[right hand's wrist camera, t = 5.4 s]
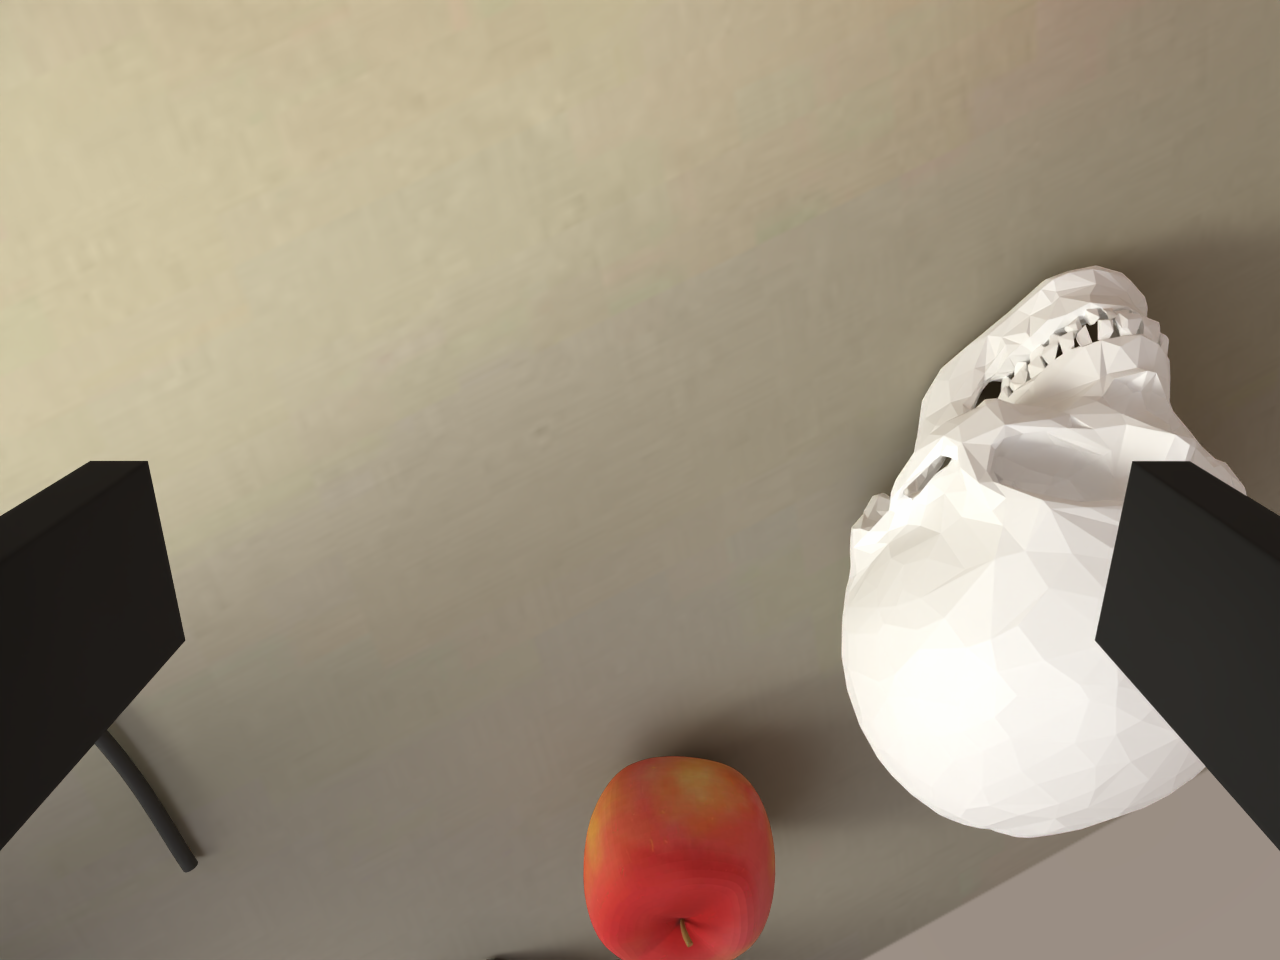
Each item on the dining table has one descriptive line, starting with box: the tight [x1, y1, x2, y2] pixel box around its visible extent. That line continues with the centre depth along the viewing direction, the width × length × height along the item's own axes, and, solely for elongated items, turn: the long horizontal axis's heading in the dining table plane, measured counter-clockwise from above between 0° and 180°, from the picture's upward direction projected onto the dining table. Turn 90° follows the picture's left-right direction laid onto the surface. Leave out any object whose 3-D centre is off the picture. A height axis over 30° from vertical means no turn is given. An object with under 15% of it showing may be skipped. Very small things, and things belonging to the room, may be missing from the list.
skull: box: [842, 265, 1247, 838], centre depth 35 cm, size 13×22×16 cm, turn 169°
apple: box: [584, 756, 775, 960], centre depth 44 cm, size 10×10×10 cm
